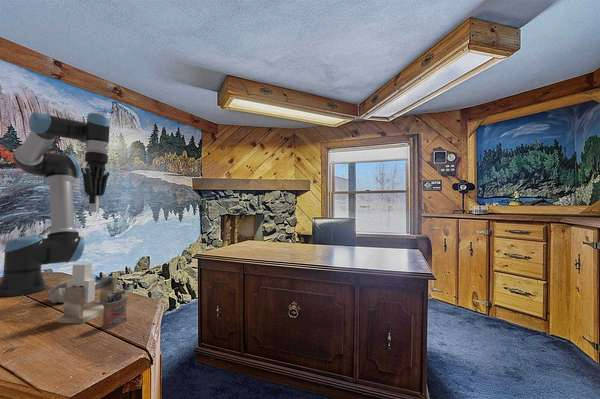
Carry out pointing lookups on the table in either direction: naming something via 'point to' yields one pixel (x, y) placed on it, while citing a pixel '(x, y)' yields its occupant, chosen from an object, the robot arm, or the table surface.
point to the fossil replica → (57, 292)
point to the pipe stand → (75, 301)
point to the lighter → (114, 310)
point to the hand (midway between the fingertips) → (93, 212)
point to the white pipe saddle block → (83, 280)
